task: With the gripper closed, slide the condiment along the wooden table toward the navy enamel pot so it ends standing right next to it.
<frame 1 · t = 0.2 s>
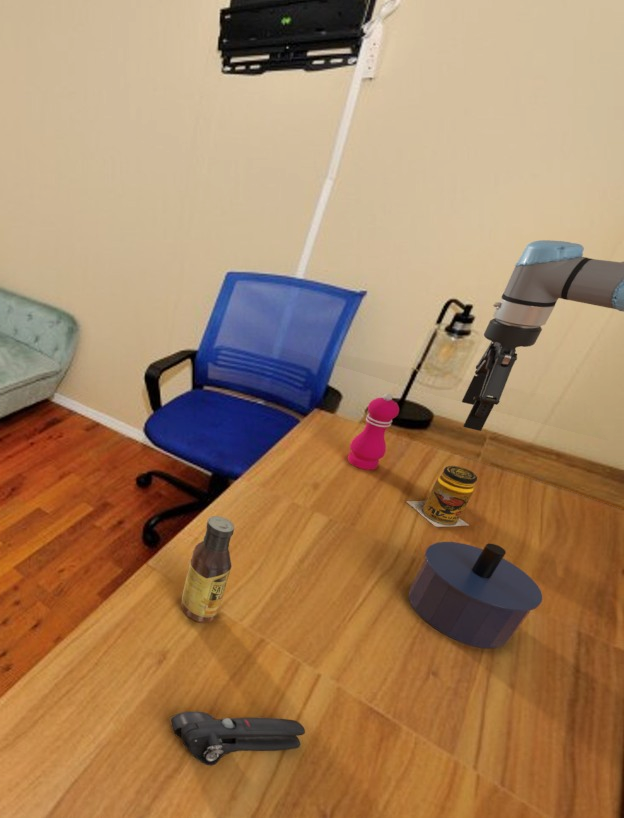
hand: (470, 415, 109), 21 cm above the table, tool pointing down, fingers open, 13 cm apart
can opener: (236, 744, 71), on the table
sauce bottle: (198, 610, 91), on the table
pot lid: (479, 575, 85), point 9 cm above the table, touching pot
condiment: (435, 514, 112), on the table
pepper mill: (361, 463, 129), on the table
pot: (456, 613, 89), on the table
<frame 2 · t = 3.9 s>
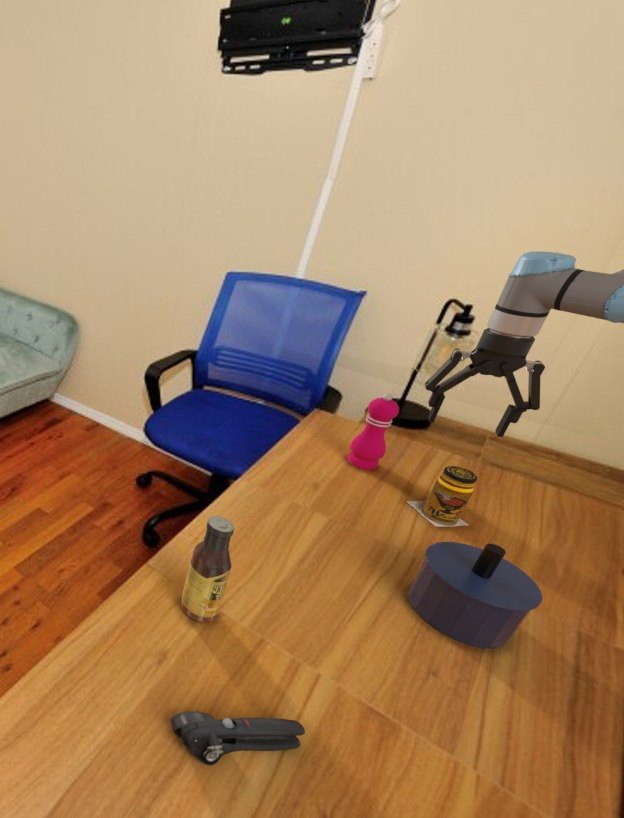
hand: (463, 426, 110), 18 cm above the table, tool pointing down, fingers open, 11 cm apart
nothing on the table moved.
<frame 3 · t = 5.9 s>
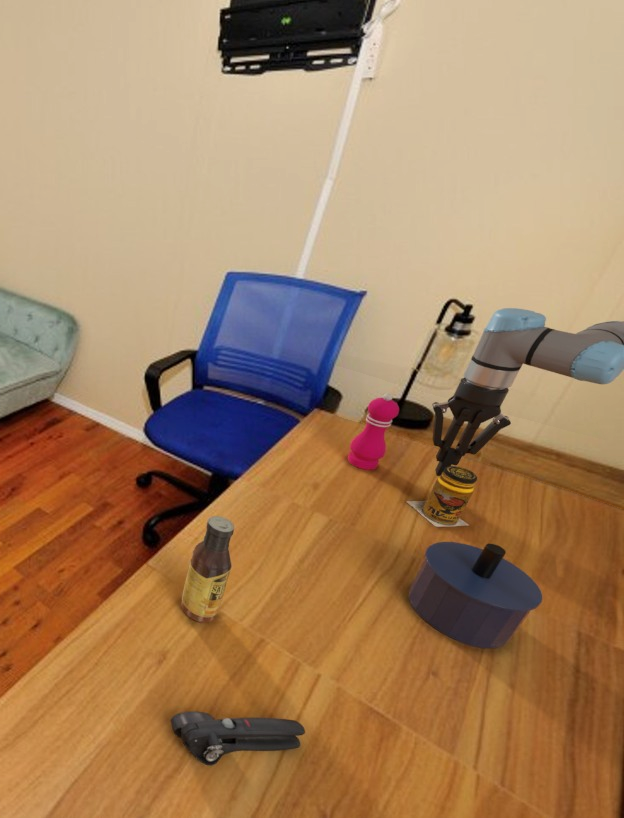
hand: (440, 473, 116), 5 cm above the table, tool pointing down, fingers closed
nothing on the table moved.
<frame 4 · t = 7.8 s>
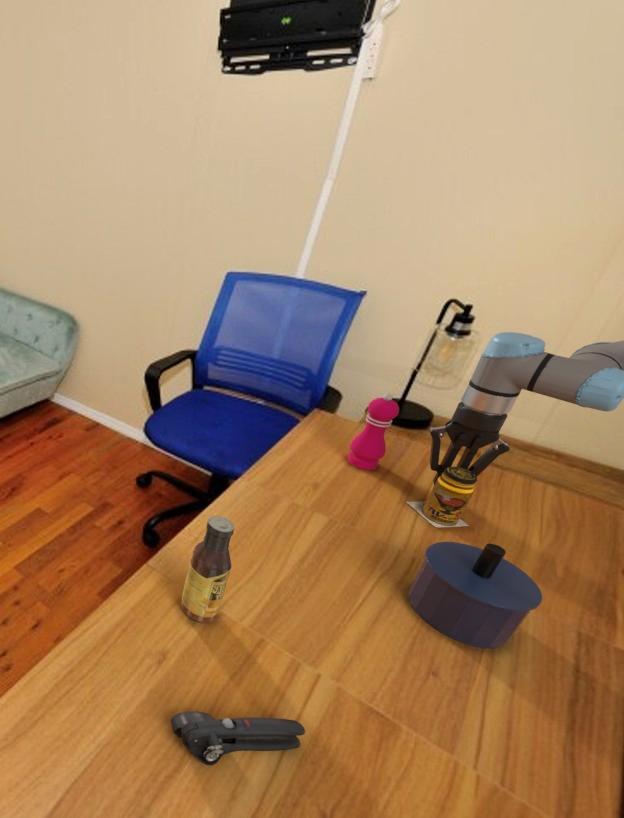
hand: (437, 498, 114), 2 cm above the table, tool pointing down, fingers closed
condiment: (435, 515, 112), on the table, touching gripper
everything else where it was.
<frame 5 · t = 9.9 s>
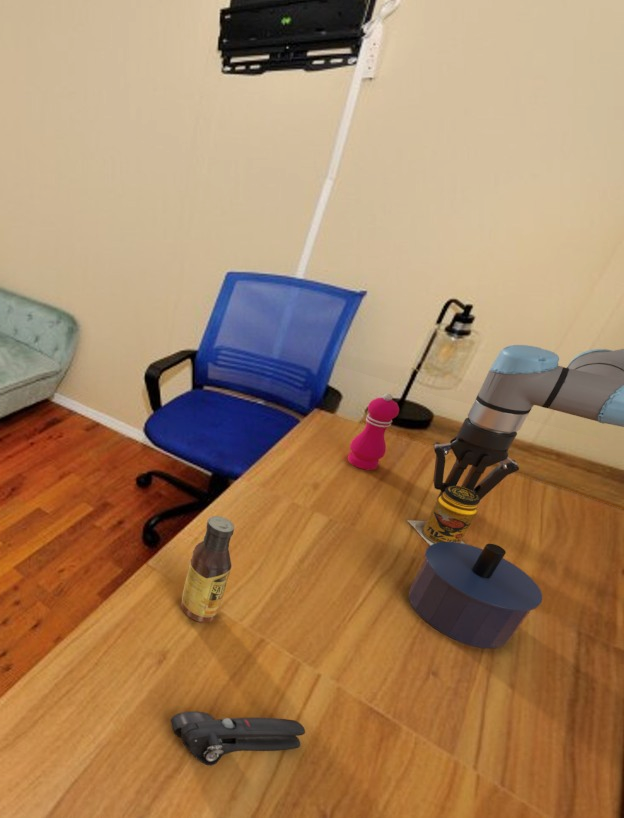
hand: (441, 518, 108), 2 cm above the table, tool pointing down, fingers closed
condiment: (437, 536, 106), on the table, touching gripper
everything else where it was.
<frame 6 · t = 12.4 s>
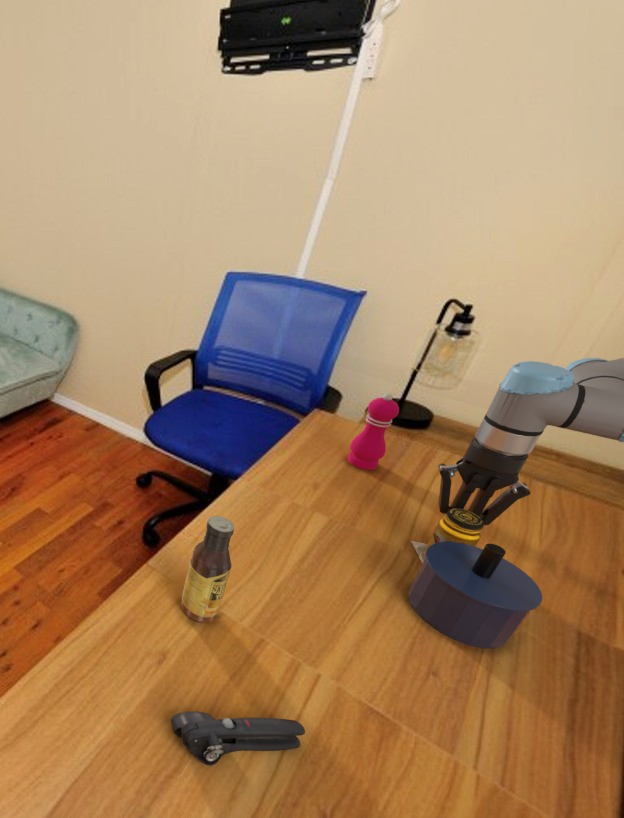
hand: (447, 543, 101), 2 cm above the table, tool pointing down, fingers closed
condiment: (439, 560, 100), on the table, touching gripper
everything else where it was.
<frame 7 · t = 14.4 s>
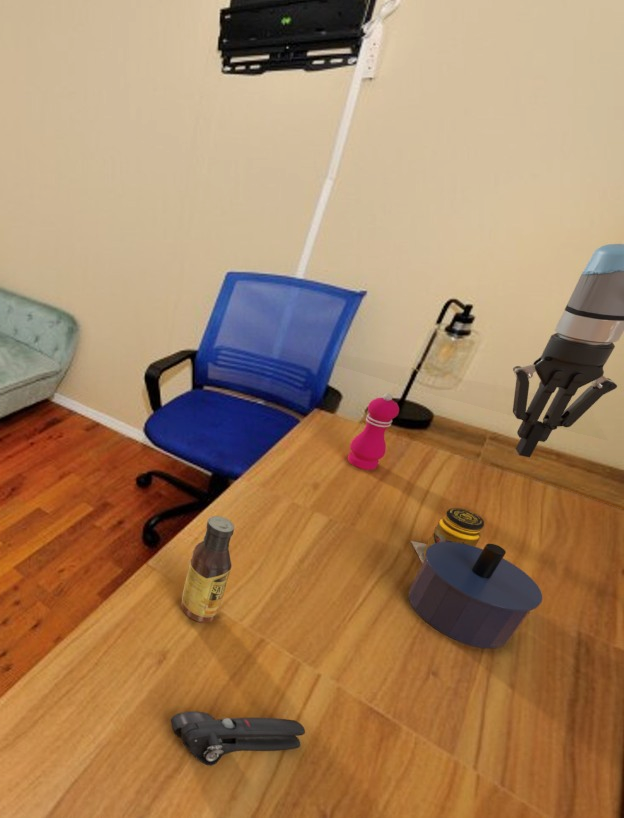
hand: (522, 452, 97), 20 cm above the table, tool pointing down, fingers closed
condiment: (439, 560, 100), on the table
everything else where it was.
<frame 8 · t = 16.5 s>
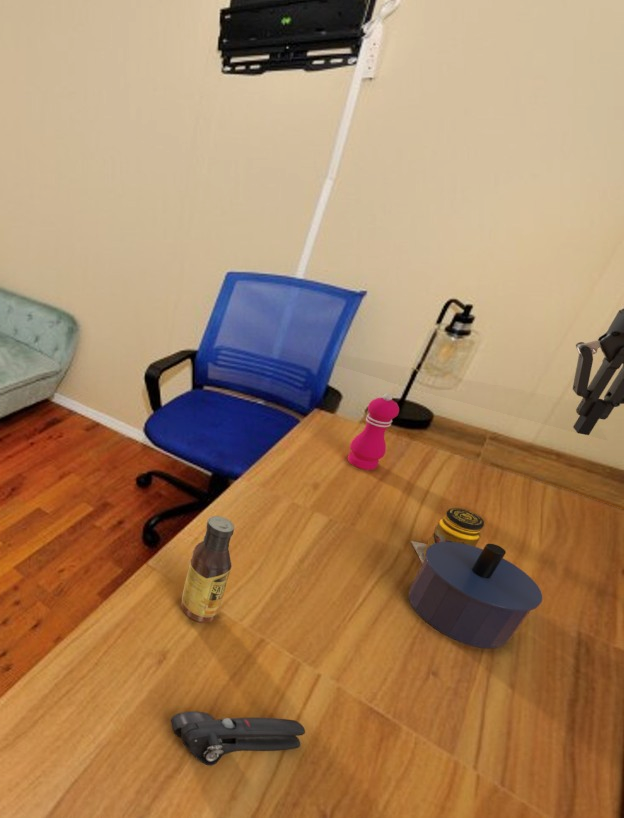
hand: (580, 430, 96), 24 cm above the table, tool pointing down, fingers closed
nothing on the table moved.
at the end: condiment 14.3 cm from the pot (horizontally); condiment moved 16.9 cm from its start; condiment tilted 0° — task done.
